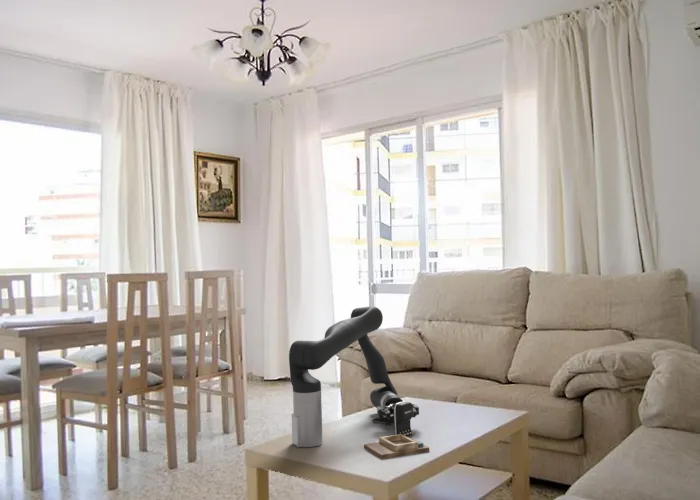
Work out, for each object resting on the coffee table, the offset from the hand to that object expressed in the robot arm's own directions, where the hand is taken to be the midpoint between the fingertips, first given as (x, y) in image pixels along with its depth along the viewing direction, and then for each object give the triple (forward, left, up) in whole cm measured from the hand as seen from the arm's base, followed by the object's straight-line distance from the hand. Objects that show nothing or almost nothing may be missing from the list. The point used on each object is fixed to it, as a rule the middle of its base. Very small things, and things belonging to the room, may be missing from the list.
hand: (402, 415), depth 211 cm
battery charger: (-1, -3, -7) cm, 7 cm away
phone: (+6, +21, -7) cm, 23 cm away
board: (-10, -15, -7) cm, 19 cm away
